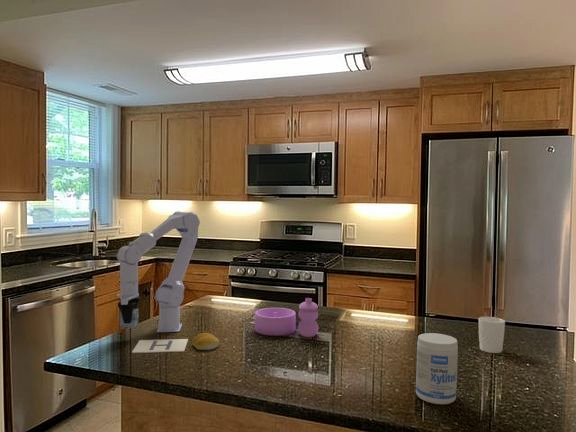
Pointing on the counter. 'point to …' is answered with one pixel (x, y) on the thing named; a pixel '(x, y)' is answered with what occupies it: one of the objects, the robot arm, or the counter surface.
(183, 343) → the letter board
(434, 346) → the supplement tub
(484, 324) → the white cup
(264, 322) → the container set
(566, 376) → the counter surface
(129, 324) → the slate-blue cube
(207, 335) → the bread roll
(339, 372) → the counter surface
